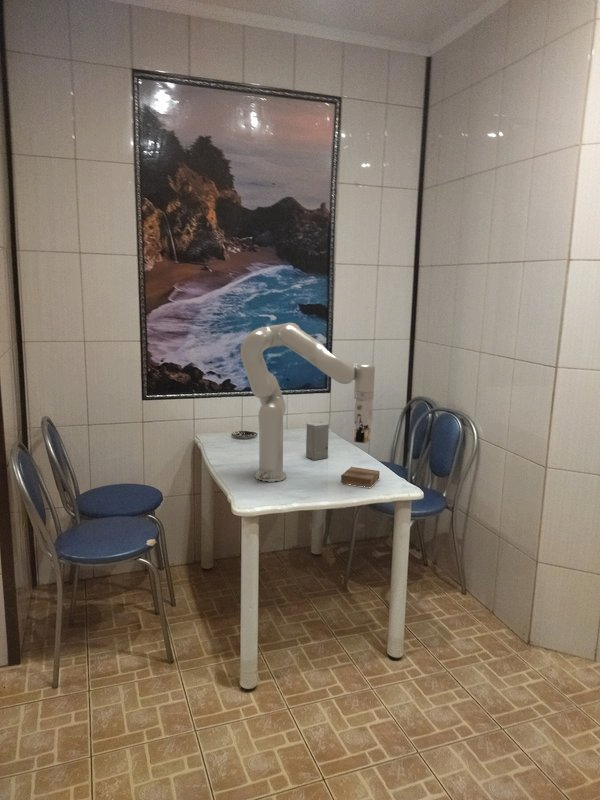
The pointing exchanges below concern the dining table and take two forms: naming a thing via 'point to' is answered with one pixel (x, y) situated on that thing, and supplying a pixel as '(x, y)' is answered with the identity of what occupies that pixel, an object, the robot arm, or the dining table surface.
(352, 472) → the walnut block
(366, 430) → the maple cube
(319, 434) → the skincare box
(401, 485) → the dining table surface
